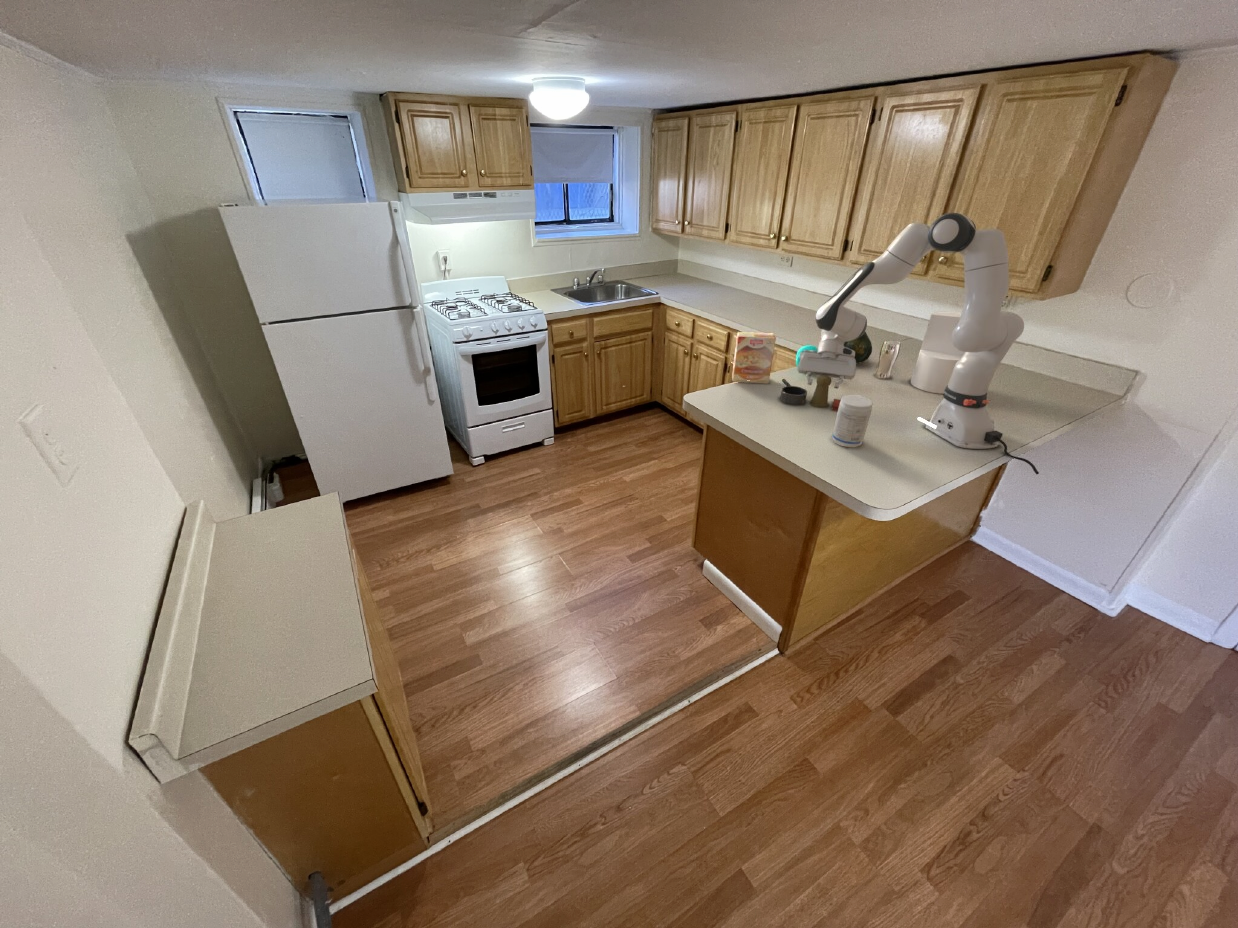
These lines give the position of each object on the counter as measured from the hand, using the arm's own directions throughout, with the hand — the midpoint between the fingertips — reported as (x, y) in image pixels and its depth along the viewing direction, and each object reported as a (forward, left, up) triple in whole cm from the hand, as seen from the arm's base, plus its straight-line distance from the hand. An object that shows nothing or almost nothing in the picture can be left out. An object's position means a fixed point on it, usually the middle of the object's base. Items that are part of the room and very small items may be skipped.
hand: (822, 386), depth 189 cm
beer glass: (+28, -39, -8) cm, 48 cm away
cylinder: (+17, -55, -8) cm, 58 cm away
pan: (+5, +9, -8) cm, 12 cm away
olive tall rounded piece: (+1, 0, -8) cm, 8 cm away
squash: (+47, -34, -8) cm, 59 cm away
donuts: (+38, -9, -8) cm, 39 cm away
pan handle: (+13, +9, -5) cm, 17 cm away
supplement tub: (-29, +2, -8) cm, 30 cm away
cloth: (-3, -8, -8) cm, 11 cm away
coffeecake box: (+27, +19, -8) cm, 34 cm away
